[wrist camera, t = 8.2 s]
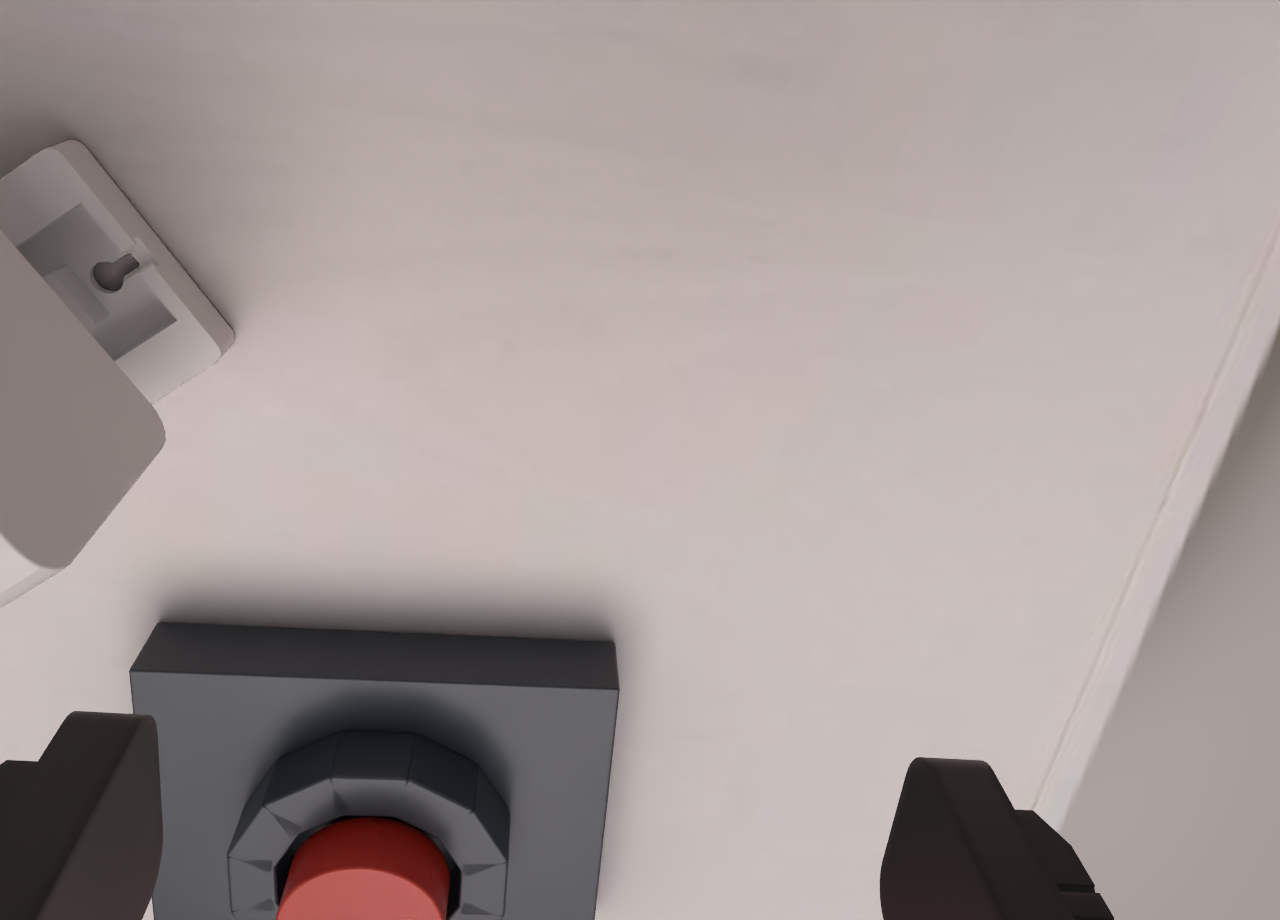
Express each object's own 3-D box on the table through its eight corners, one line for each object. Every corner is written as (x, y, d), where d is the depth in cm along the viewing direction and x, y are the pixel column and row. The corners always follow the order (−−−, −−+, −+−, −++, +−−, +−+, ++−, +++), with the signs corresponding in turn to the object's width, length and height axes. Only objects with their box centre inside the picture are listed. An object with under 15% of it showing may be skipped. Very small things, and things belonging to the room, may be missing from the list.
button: (452, 817, 28) (446, 869, 26) (447, 936, 29) (442, 992, 28) (287, 813, 27) (271, 866, 26) (291, 934, 29) (277, 991, 27)
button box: (615, 641, 30) (624, 733, 27) (586, 916, 34) (590, 1029, 31) (157, 621, 29) (101, 716, 25) (181, 909, 33) (136, 1027, 29)
